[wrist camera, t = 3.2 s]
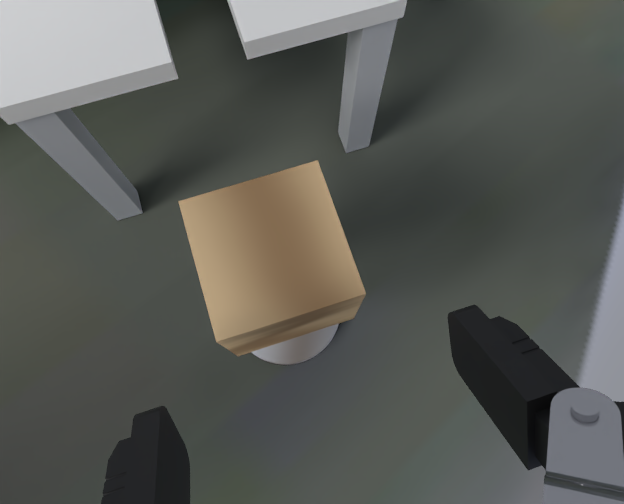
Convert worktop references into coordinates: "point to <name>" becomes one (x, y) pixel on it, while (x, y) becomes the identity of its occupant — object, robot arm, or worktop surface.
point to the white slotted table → (162, 68)
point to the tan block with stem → (273, 264)
